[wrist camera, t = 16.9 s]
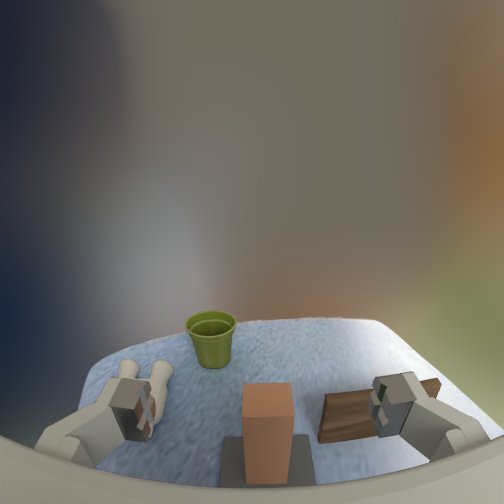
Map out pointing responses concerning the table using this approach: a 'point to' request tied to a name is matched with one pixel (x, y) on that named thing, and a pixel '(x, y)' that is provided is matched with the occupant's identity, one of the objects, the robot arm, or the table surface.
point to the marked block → (267, 432)
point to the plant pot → (212, 337)
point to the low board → (355, 414)
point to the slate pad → (236, 477)
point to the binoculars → (151, 383)
